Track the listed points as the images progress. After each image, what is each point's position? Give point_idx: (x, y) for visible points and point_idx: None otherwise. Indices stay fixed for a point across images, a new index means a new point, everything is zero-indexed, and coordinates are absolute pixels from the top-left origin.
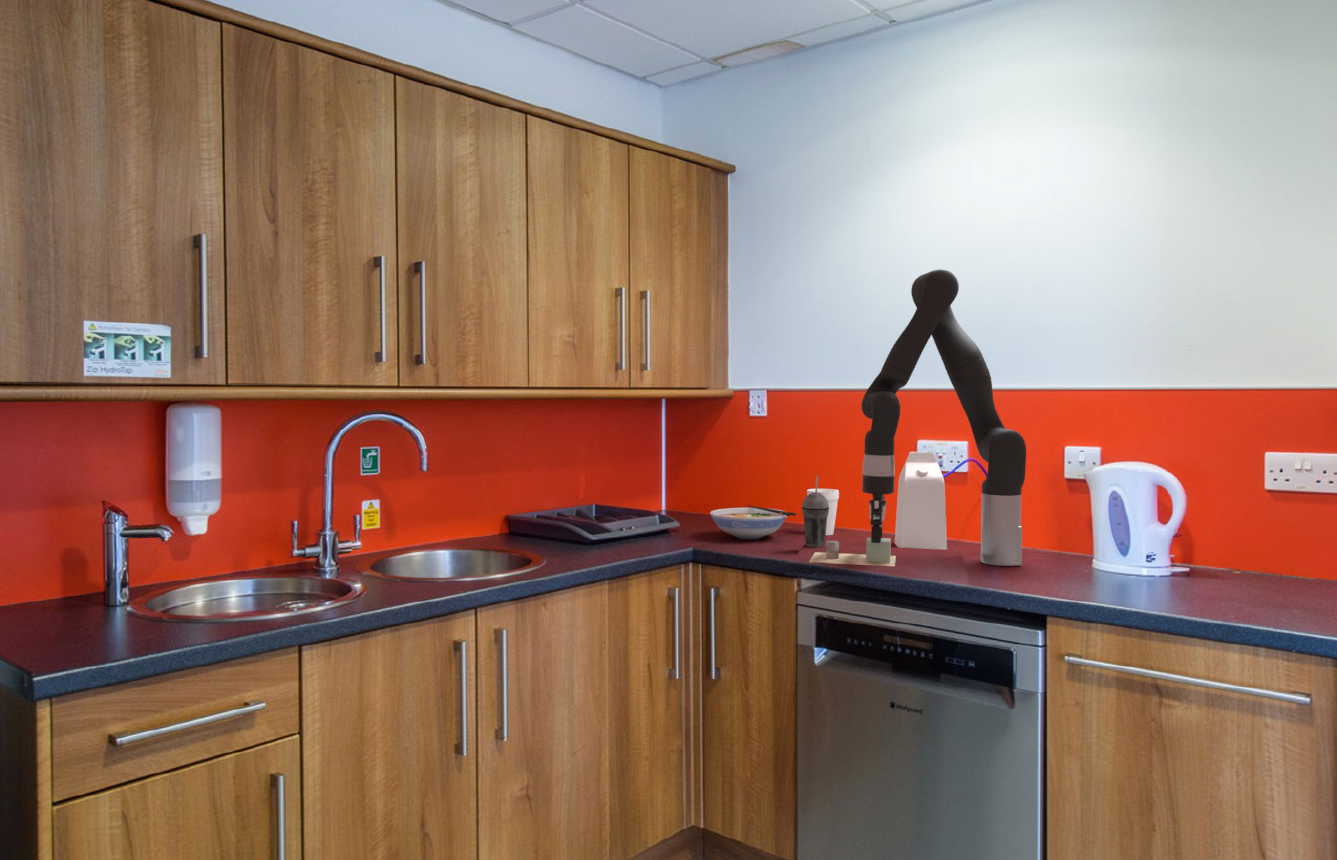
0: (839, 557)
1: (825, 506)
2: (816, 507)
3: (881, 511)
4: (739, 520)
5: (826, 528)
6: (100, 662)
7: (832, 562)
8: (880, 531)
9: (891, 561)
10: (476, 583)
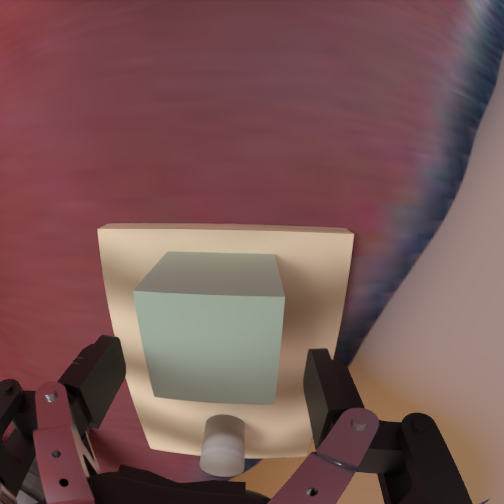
0: (209, 412)
1: (28, 500)
2: None
3: (465, 491)
4: None
5: None
6: (485, 501)
7: (304, 422)
8: (341, 391)
9: (239, 247)
10: None
